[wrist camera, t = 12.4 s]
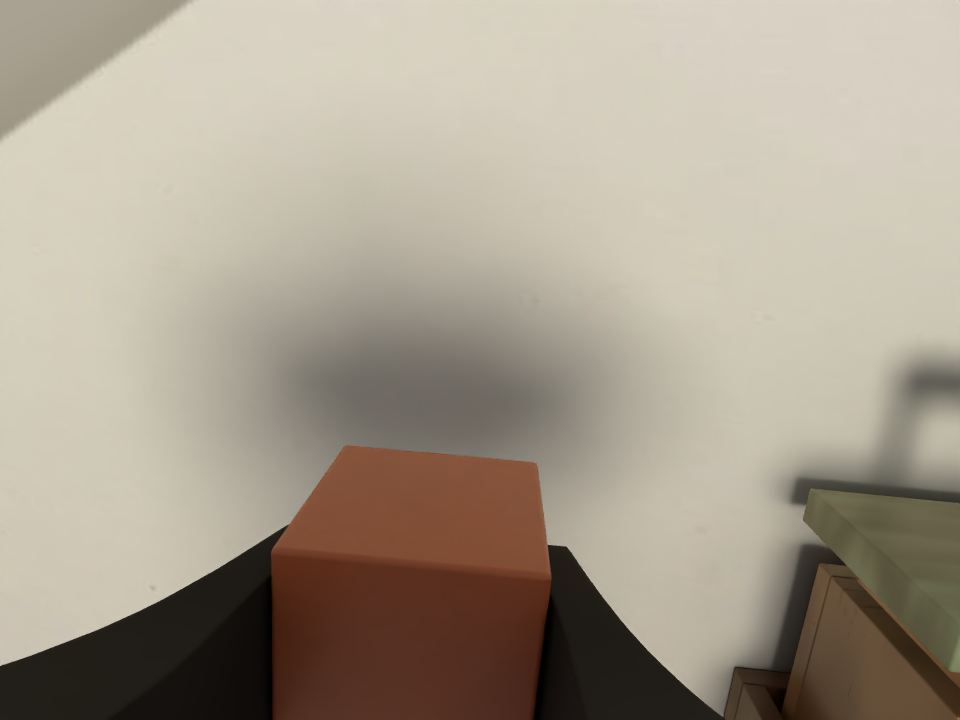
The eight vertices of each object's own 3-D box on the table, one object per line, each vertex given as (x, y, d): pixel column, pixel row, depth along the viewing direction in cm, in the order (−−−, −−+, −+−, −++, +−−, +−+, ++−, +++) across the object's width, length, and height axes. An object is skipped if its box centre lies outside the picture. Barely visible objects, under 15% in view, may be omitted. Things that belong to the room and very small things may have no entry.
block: (339, 611, 13) (270, 777, 9) (343, 443, 12) (268, 549, 8) (519, 628, 13) (525, 803, 9) (537, 460, 12) (552, 576, 8)
